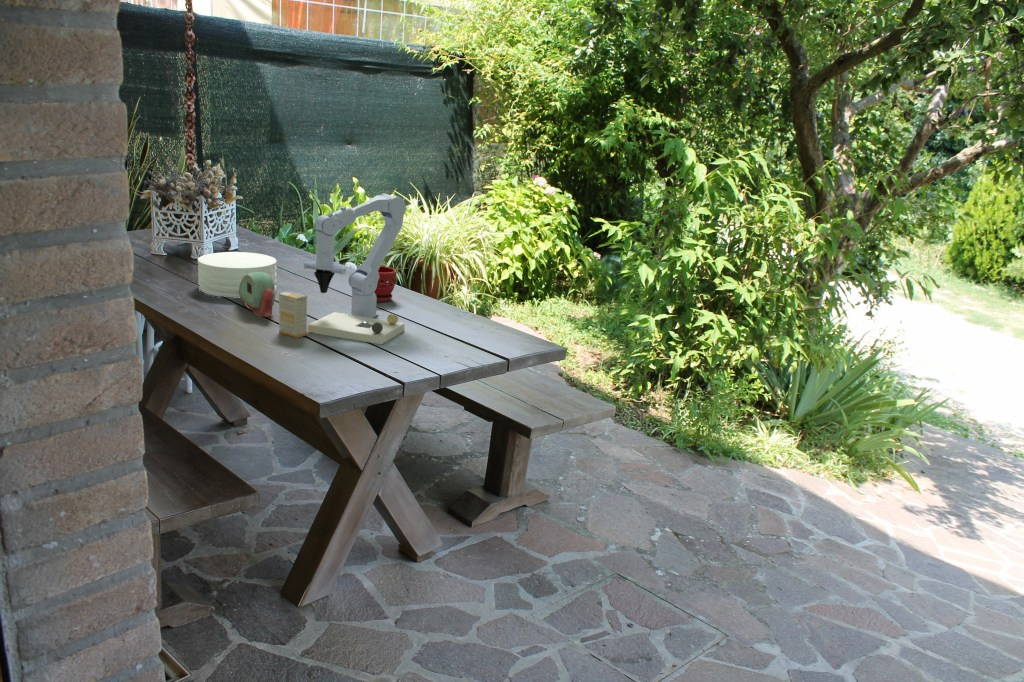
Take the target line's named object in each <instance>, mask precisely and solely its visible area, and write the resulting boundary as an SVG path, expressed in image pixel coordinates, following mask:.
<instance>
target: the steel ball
mask: <svg viewBox="0 0 1024 682" xmlns="http://www.w3.org/2000/svg"><path fill="white" fill-rule="evenodd" d="M360 327H364V328H370V324H369V323H368V322H362V323H361V324H360Z"/></svg>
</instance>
